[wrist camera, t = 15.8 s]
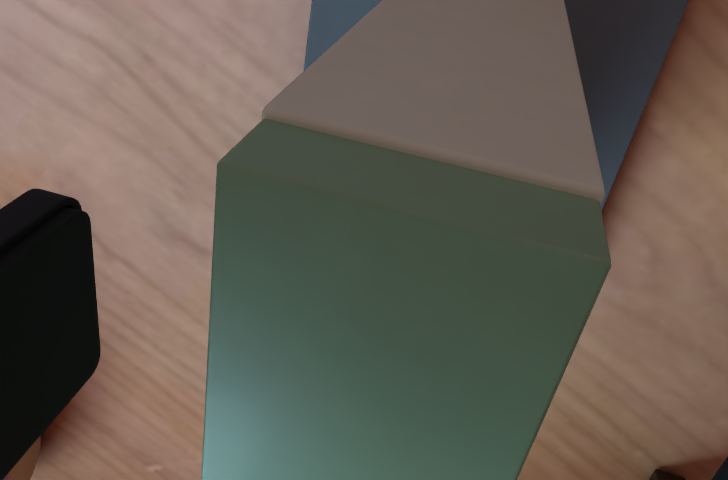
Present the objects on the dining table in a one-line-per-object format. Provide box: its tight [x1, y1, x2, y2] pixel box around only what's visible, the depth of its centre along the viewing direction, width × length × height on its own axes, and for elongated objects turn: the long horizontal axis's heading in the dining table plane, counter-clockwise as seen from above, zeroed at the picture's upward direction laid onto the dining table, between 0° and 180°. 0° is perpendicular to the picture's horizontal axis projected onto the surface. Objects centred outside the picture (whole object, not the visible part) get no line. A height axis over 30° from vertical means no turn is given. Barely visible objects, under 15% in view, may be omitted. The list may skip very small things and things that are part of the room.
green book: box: [202, 0, 611, 480], centre depth 13 cm, size 9×3×15 cm, turn 170°
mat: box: [304, 0, 689, 212], centre depth 20 cm, size 10×10×1 cm
